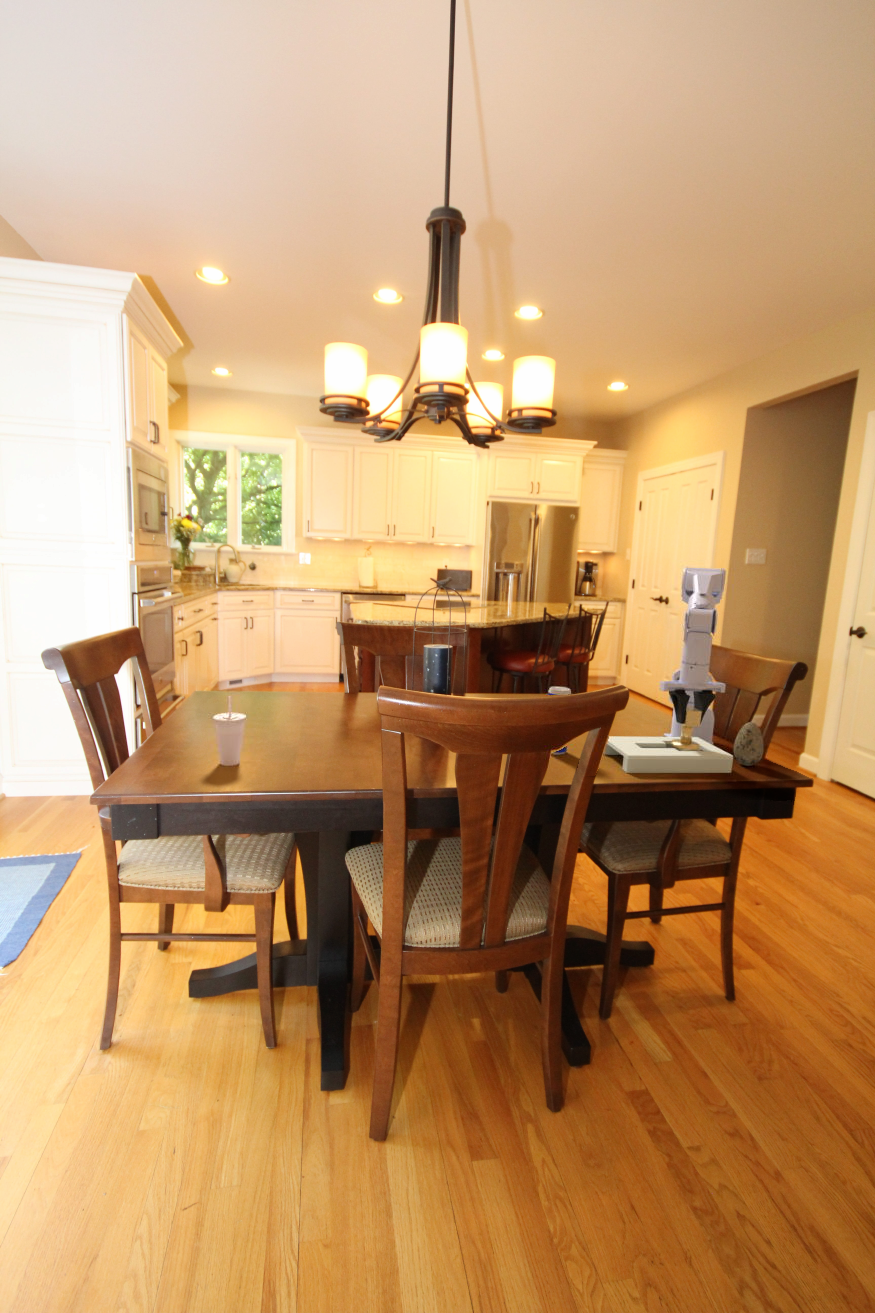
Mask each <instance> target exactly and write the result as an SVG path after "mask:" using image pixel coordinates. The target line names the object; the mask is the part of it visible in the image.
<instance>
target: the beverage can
mask: <svg viewBox="0 0 875 1313" xmlns="http://www.w3.org/2000/svg"><path fill="white" fill-rule="evenodd" d="M547 693H548V694H547V696H548V695H568V694H571V695H572V691H571V689H570V688H569V687H566V686H550V687H549V689H548V692H547ZM567 749H568V745H567V746H566V747H564V748H563V749H561V750H559V751H556V752H554V753H553V754H552V755H553V756H555V755H556V756H559V755H560V756H562V755H564V754H565V753H566V752H567ZM561 754H562V755H561Z"/></svg>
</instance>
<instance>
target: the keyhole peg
mask: <svg viewBox="0 0 875 1313" xmlns="http://www.w3.org/2000/svg"><path fill="white" fill-rule="evenodd" d="M701 713H702V711H700V710H698V709H696V708H694V707H687V708H686V714H685V721H684V724H682V730H681V738H680V739H674V740H672V741H671V747H673V748H675V749H677V750H680V751H699V749H700V745H699V744H698V743H696V742H693V741H692V735H693V728H694V727H700V720H701Z"/></svg>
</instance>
